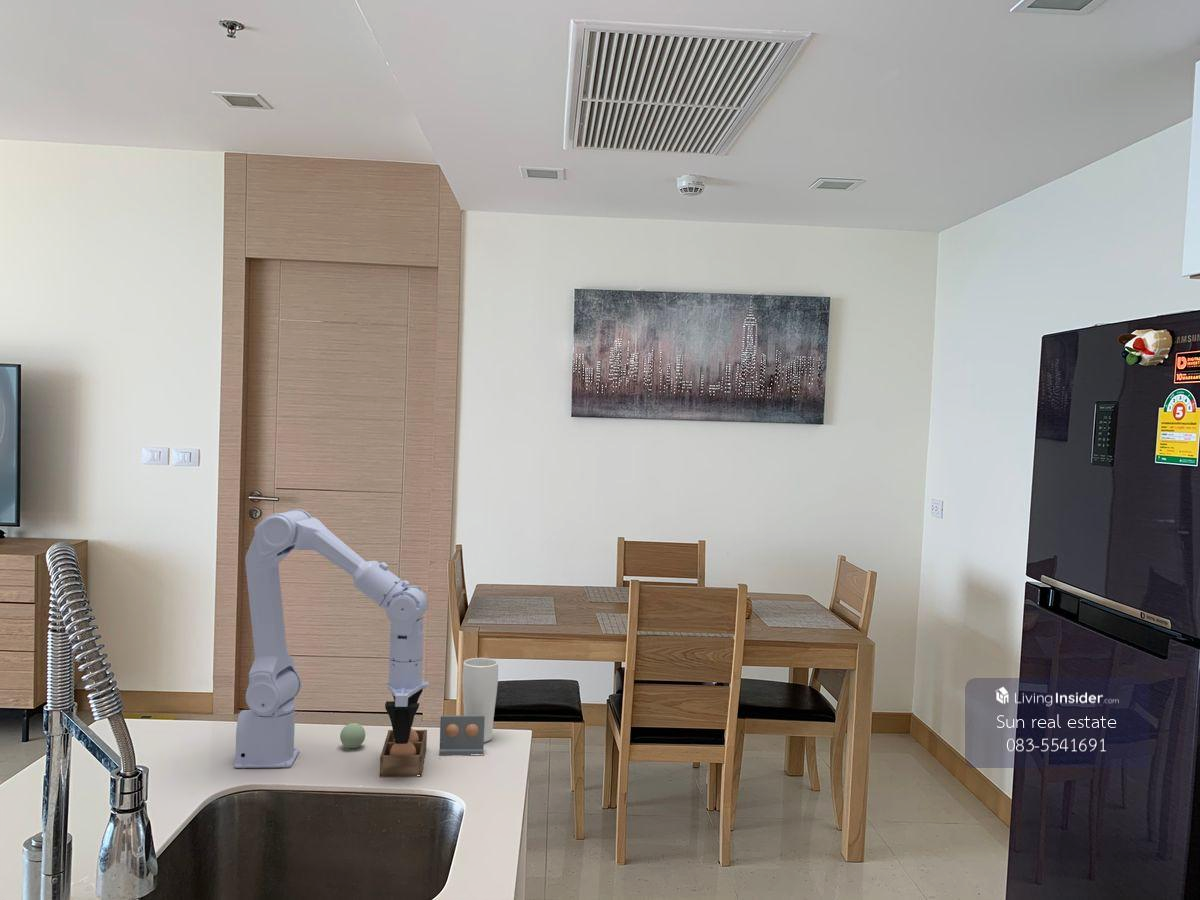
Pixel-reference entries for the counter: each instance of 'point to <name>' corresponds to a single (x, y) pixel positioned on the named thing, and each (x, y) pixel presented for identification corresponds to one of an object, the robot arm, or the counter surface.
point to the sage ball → (352, 735)
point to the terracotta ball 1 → (413, 736)
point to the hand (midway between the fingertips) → (403, 735)
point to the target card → (462, 735)
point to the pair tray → (403, 757)
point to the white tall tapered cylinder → (480, 690)
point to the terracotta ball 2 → (403, 749)
